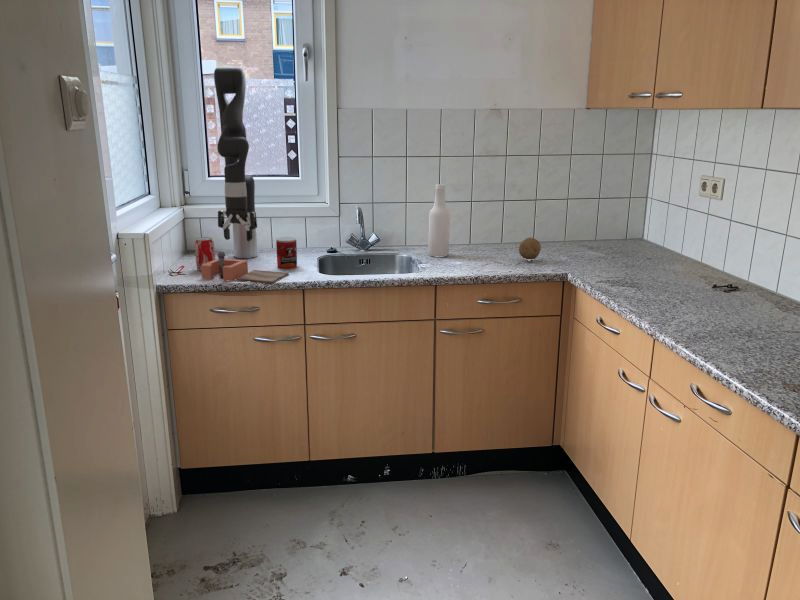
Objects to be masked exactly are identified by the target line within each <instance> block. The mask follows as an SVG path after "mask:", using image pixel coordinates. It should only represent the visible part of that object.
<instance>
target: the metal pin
mask: <svg viewBox="0 0 800 600" xmlns="http://www.w3.org/2000/svg"><path fill="white" fill-rule="evenodd" d="M225 256H226V253H225V252H224V251H222V250H221V251H219V252H218V253H217V257H218V258H219V272H220V274H219V278H220V279H223V266H225V260H224V259H225Z"/></svg>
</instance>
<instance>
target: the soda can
mask: <svg viewBox="0 0 800 600" xmlns="http://www.w3.org/2000/svg"><path fill="white" fill-rule="evenodd" d="M195 239H196V240H195V243H194V252H195V253H194V255H195V265H196V269H197V270H199V271H200V272H202V271H201V265H203V264H205V263H208V262H210V261H213V260H215V259H216V253H215V249H216V248H215V243H214V241H213V237H210V236H201V237H197V238H195Z"/></svg>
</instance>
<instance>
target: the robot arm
mask: <svg viewBox="0 0 800 600" xmlns="http://www.w3.org/2000/svg"><path fill="white" fill-rule="evenodd" d="M213 72H214V73H213V80H214V87H215V93H216V99H217V104H218V112H219V118H220V119H219V124H220V136H219V139H218V141H217V153H218V155H219V156H220V157H222V158H224V165H225V166H224V170H223V171H224V172H223V173H224V174H223V175H224V199H225V200H224V203H225V210H224V209H221V210H218V211H217V226H218V228H221V229H223V237H224V239H225V241H226V240H227V241H228V240H230V239H231V232H230V230H231V229H230V227H231V225H232V235H233V236H232V237H233V252H234V253H233V255H234V256H235V257H234V258H236V257H237V259H253V258H255V257H257V256H258V240H257V239H258V238H257V229H258V223H257V222H258V221H257V214H256V213H257V212H256V207H255V206H256V205H255V204H256V203H255V189H256V188H255V179H254V177H253V176H252V175H250V174H246V164H247V157H248V153H249V149H250V145H249V141H248V140H247V132H246V130H247V128H246V125H245V124H244V122H243V121H244V120H243V119H244V118H243V117H244V114H243V113H244V107H245V106H244V105H245V97H246V86H247V84H246V83H247V81H246V74H245V72H244V69H243V68H241V67H235V66H233V67H215V69H214V71H213ZM226 94H227V95H229V94H230V95H231V94H234V97H233V98H232V99H231V101H230V102H229V100H228V98H227V95H226ZM225 217H227V219H226V220H225ZM252 257H253V258H252Z"/></svg>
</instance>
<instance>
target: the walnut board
mask: <svg viewBox="0 0 800 600" xmlns="http://www.w3.org/2000/svg"><path fill="white" fill-rule="evenodd" d="M289 274H290V272H287V271H285V272H284V271H273V270H272V271H271V270H260V269H253V270H252V271H248V273H247V274H245V275H243V276H240V277H238V278H236V280H238V281H237V282H245V281H250V282H249V283H257V282H260V283H259V284H268V285H269V284H272V285H273V284H275V283H276V281H277V280H278V281H280V280H281V278H282V279H283V277H284V278H286V277H288V276H289ZM285 276H286V277H285ZM279 279H280V280H279ZM236 280H235V281H236ZM278 281H277V282H278Z"/></svg>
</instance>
